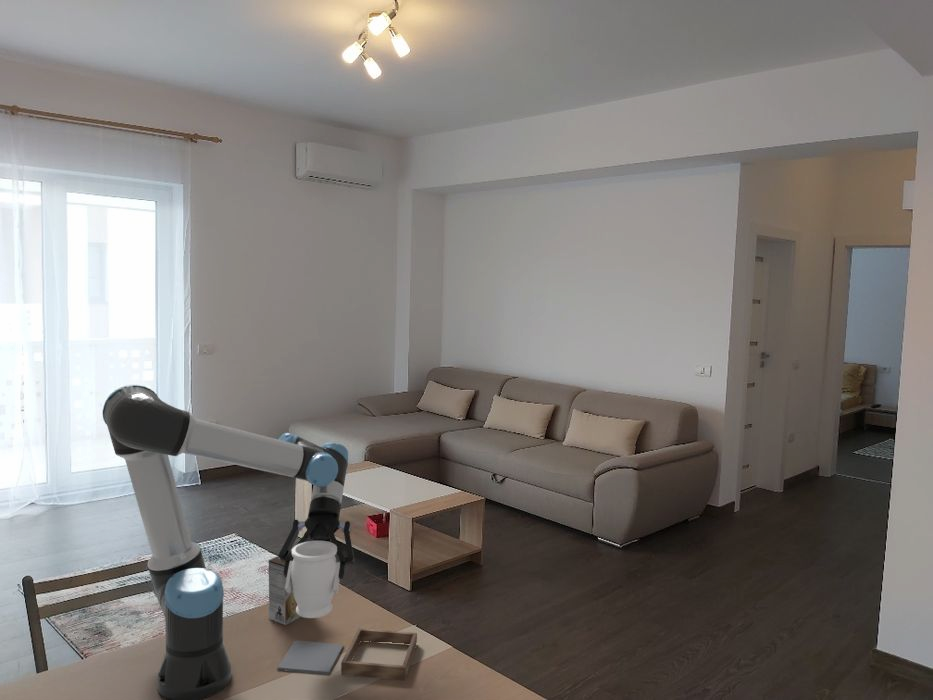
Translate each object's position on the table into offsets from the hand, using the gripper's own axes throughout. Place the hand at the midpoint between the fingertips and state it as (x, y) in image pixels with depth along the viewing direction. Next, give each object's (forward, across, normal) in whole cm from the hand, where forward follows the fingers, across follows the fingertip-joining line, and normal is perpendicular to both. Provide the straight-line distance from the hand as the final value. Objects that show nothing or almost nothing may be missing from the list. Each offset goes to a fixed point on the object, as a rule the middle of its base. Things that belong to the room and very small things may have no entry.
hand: (311, 591), depth 161 cm
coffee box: (-3, +11, -29) cm, 31 cm away
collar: (+10, -16, -15) cm, 24 cm away
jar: (+2, 0, -6) cm, 7 cm away
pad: (+11, 0, -14) cm, 18 cm away
